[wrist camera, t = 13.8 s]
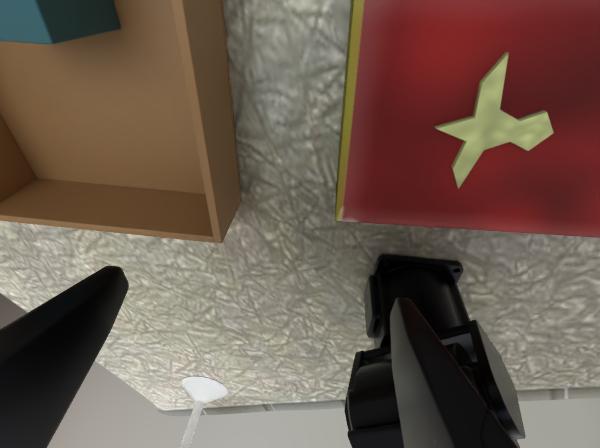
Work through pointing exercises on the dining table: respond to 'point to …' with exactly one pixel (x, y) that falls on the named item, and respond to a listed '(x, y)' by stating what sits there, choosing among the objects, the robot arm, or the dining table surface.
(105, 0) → the teal block
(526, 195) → the hardcover book
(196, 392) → the champagne flute
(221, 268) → the dining table surface
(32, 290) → the dining table surface
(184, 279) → the dining table surface
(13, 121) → the carton
